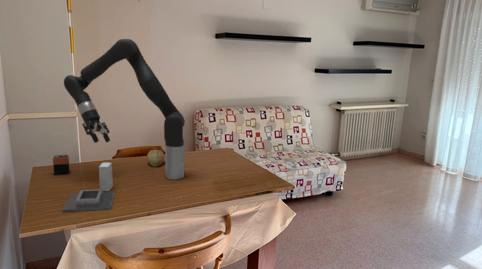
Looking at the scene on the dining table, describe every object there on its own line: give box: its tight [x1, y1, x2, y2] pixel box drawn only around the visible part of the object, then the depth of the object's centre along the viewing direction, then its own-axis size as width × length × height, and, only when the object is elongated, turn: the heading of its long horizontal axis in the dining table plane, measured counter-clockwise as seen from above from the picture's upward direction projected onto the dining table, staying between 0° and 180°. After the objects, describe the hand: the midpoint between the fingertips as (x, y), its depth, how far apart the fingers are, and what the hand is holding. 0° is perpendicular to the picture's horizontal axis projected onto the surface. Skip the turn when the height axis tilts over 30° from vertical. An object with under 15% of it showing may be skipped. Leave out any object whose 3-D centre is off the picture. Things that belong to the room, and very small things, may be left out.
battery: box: [52, 153, 70, 176], centre depth 175 cm, size 4×7×10 cm, turn 111°
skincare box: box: [98, 162, 114, 192], centre depth 159 cm, size 6×4×12 cm
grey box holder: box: [61, 188, 115, 213], centre depth 145 cm, size 18×16×4 cm
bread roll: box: [146, 149, 165, 168], centre depth 198 cm, size 10×15×8 cm, turn 19°
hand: (102, 141), depth 165 cm, fingers open, 8 cm apart
